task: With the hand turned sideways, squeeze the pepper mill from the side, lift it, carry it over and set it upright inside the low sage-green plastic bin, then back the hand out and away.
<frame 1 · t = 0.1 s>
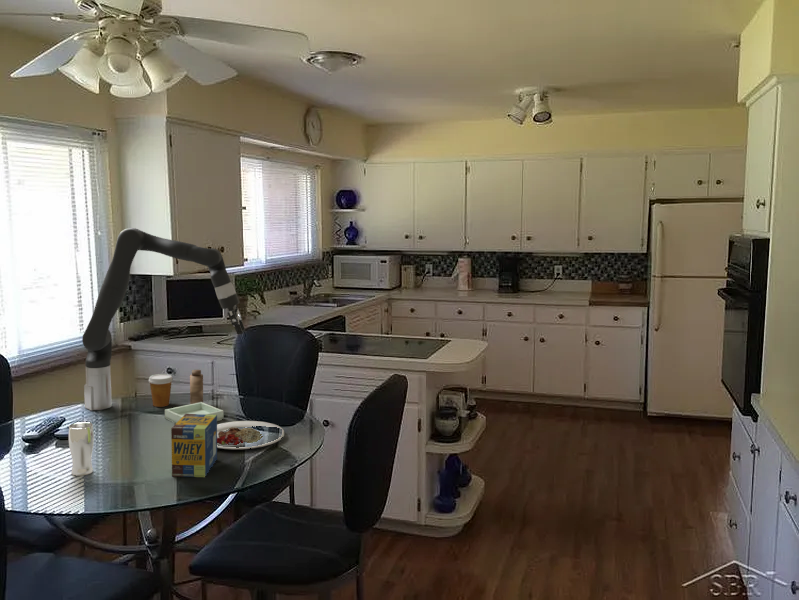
hand: (241, 332, 280), 31 cm above the table, tool tilted 20°, fingers open, 8 cm apart
bin: (194, 418, 265), on the table
pepper mill: (196, 405, 283), on the table
protein box: (195, 468, 216), on the table
plated food: (242, 439, 245), on the table
beer glass: (82, 473, 210), on the table
disposable coffee cup: (161, 405, 283), on the table
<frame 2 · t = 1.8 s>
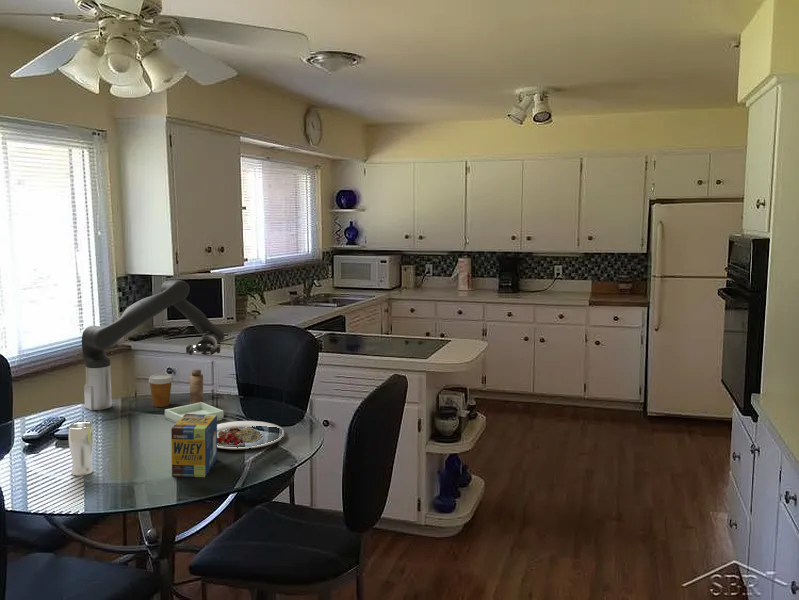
hand: (201, 352, 291), 20 cm above the table, tool horizontal, fingers open, 8 cm apart
nothing on the table moved.
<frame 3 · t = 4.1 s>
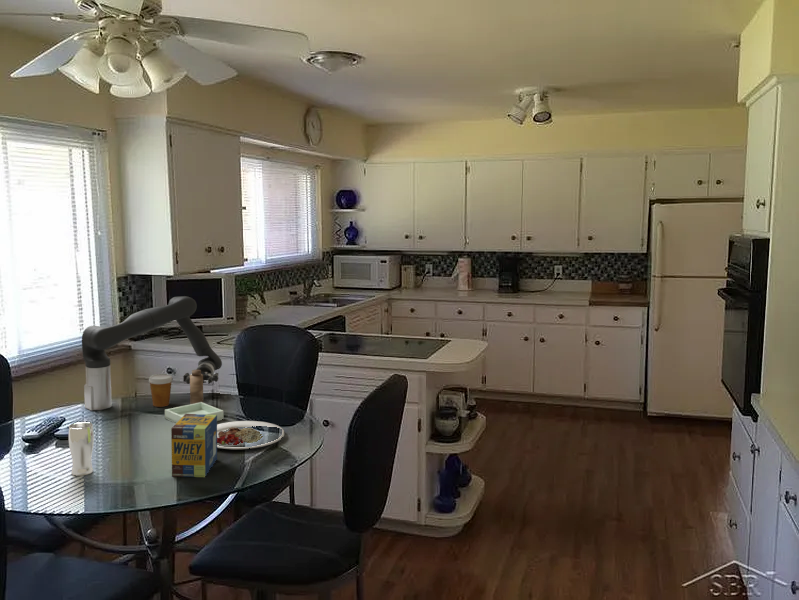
hand: (198, 381, 287), 9 cm above the table, tool horizontal, fingers open, 8 cm apart
nothing on the table moved.
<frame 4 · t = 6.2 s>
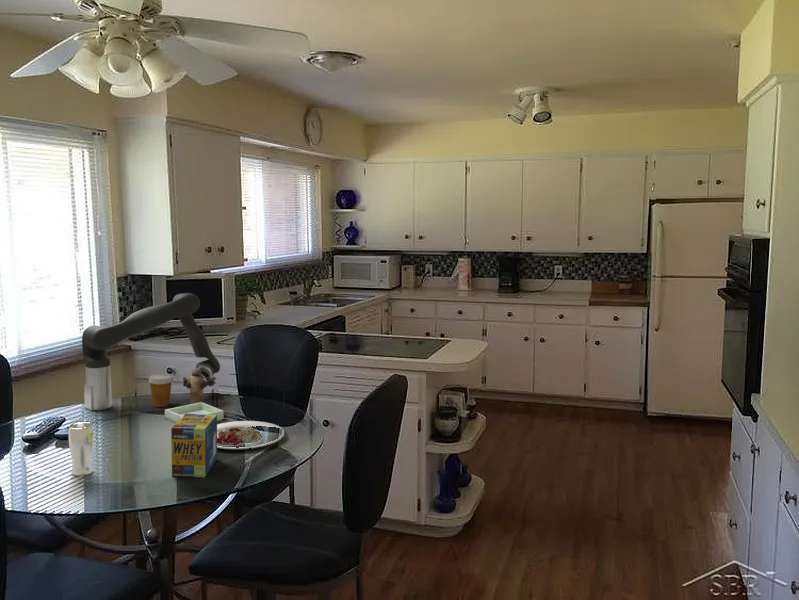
hand: (195, 386, 279), 9 cm above the table, tool horizontal, fingers closed on pepper mill, 5 cm apart
pepper mill: (196, 405, 283), on the table, touching gripper
everything else where it was.
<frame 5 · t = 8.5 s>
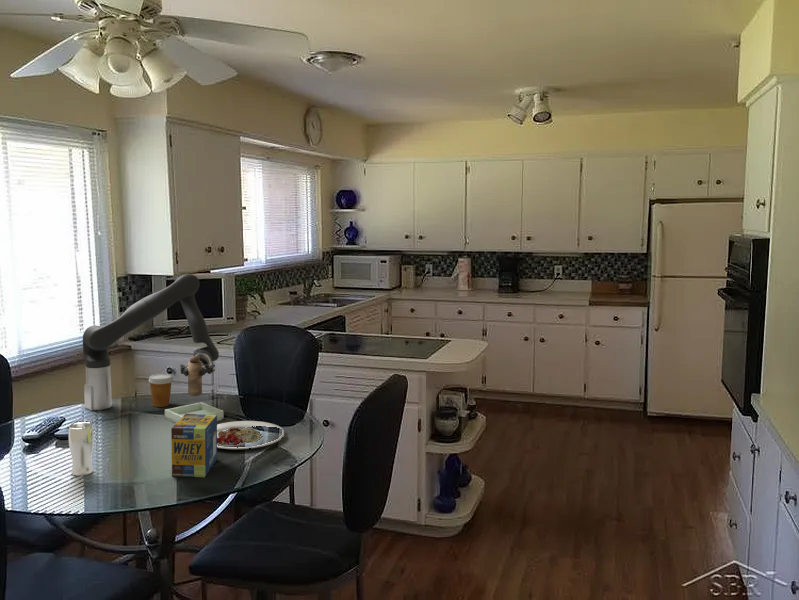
hand: (193, 373, 265), 18 cm above the table, tool horizontal, fingers closed on pepper mill, 5 cm apart
pepper mill: (195, 394, 268), point 9 cm above the table, touching gripper
everything else where it was.
when the fingers open (11 cm above the table, at t = 11.2 s): pepper mill drops 1 cm, resting on bin.
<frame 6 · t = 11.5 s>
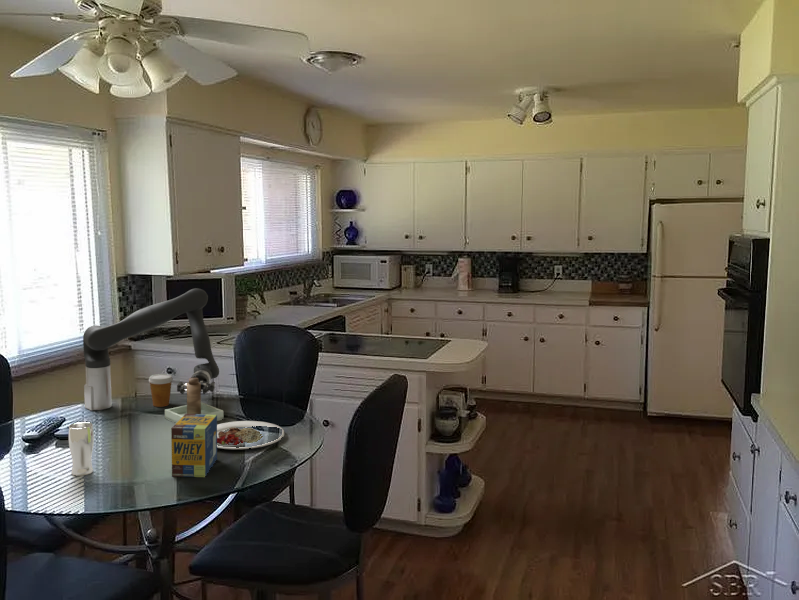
hand: (193, 391, 262), 11 cm above the table, tool horizontal, fingers open, 7 cm apart
pepper mill: (194, 416, 265), point 1 cm above the table, touching bin
everything else where it was.
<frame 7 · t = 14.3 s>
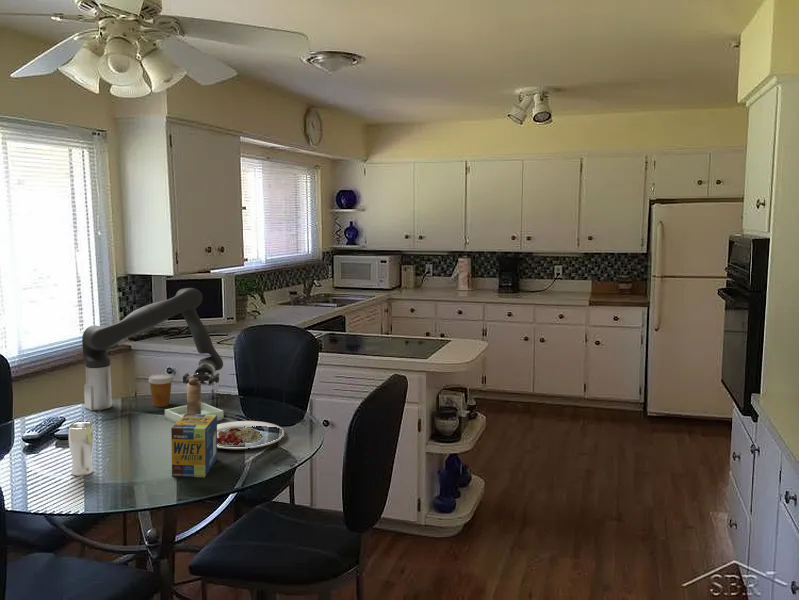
hand: (198, 382, 275), 12 cm above the table, tool horizontal, fingers open, 8 cm apart
nothing on the table moved.
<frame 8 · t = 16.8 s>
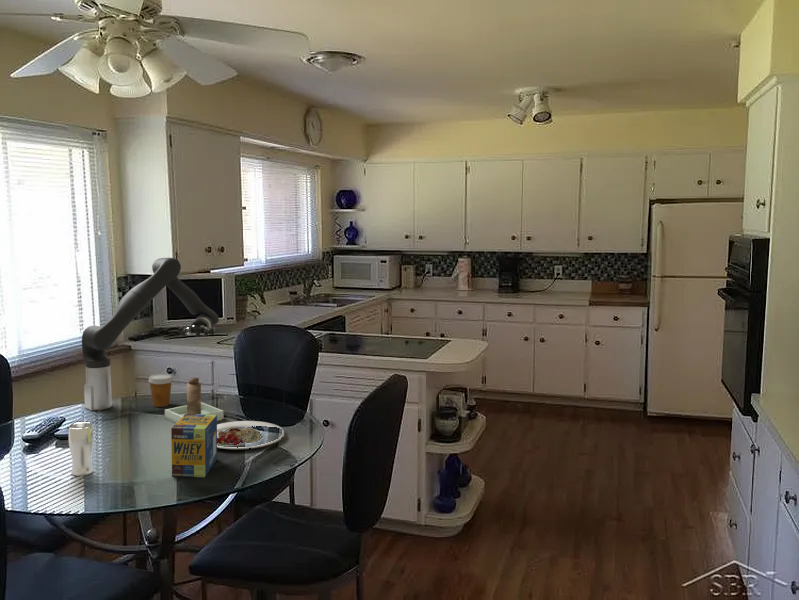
hand: (194, 333, 281), 30 cm above the table, tool horizontal, fingers open, 8 cm apart
nothing on the table moved.
at the end: pepper mill inside the target area on the bin (0.1 cm from its centre), point 1.1 cm above the bin's base; pepper mill tilted 1°; the gripper is holding nothing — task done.
